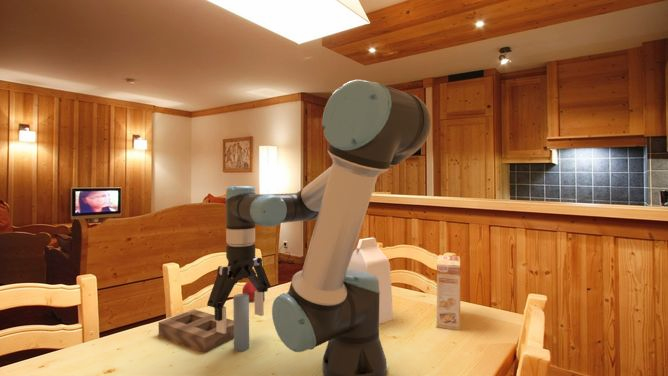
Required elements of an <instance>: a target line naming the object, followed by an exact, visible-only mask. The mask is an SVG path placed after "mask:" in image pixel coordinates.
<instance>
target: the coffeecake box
mask: <svg viewBox="0 0 668 376" xmlns="http://www.w3.org/2000/svg"><path fill="white" fill-rule="evenodd" d="M461 272H462V271H461V257H460V255H446V254H444V255H443V254H439V255H438V257H437V263H436V328H443V329H449V330H453V331H454V330H455V331H461Z"/></svg>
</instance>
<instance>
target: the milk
mask: <svg viewBox="0 0 668 376" xmlns="http://www.w3.org/2000/svg"><path fill="white" fill-rule="evenodd" d="M347 270H354V271H362V272H367V273H370V274H373V275H375V276H376V277H377V279H378V281H379V291H380V294H379V325H380V324H383V323H386V322H389V321H391V320H394V311H393V293H392V292H393V291H392V290H393V289H392V275H391V274H392V273H391V263H390V261H389V258H388V257H387V256H386V255H385V253H384V252H383V251H382V249H381V248H380V247H379V246H378V243H377V239H376V237H368V238H360V239H359V240H358V243H357V246H356V248H354V251H353V254H352V257H351V260H350V263H349V266H348V269H347Z"/></svg>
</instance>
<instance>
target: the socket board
mask: <svg viewBox="0 0 668 376" xmlns="http://www.w3.org/2000/svg"><path fill="white" fill-rule="evenodd" d="M158 337H161V338H163V339H166V340H169V341H171V342H175V343H176V344H180V345H182V346H185V347H186V348H187V347H188V348H191V349H192V350H193V349H194V350H195V351H199V352H200V353H204V354H206V353H208V352H210V351H211V350H212V351H213V350H214V349H217V348H218V347H220V346H222V345H224V344H226V343H228V342H231V341H232V340H234V319H230V318H228V317H226V333H225V334H223V333H220V332H217V325H216V320H215V314H212V313H208V312H205V311H201V310H197V309H194V308H193V309H191V310H188V311H185V312H182V313H180V314H178V315H174V316H172V317H169V318H166V319H163V320H161V321H158Z"/></svg>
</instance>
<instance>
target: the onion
mask: <svg viewBox="0 0 668 376" xmlns="http://www.w3.org/2000/svg"><path fill="white" fill-rule="evenodd" d="M241 291H242V294H248V295H249V302H251V301H253V300H255V291H258V290H257V289H256V288H255V287H254V285H253V284H252V283H251V281H250V280H249V279H248V282H246V283H245V284H244V285H243V288H242V290H241Z"/></svg>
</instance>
